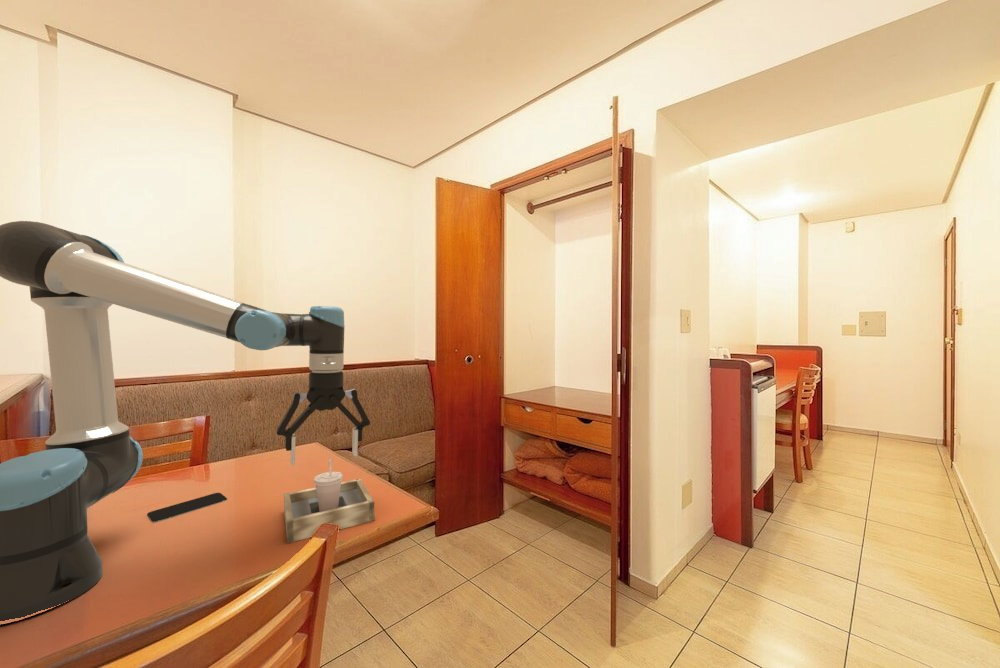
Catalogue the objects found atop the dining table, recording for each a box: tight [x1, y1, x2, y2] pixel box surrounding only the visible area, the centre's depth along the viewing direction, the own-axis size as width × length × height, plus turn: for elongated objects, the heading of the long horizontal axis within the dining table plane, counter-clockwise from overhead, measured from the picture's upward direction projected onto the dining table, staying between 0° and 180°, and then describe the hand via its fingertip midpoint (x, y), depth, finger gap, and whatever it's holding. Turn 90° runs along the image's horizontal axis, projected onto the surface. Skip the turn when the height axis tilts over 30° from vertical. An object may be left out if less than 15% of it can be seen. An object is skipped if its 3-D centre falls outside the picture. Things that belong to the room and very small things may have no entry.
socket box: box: [283, 478, 375, 544], centre depth 92 cm, size 18×16×4 cm
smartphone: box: [146, 492, 228, 524], centre depth 97 cm, size 7×1×15 cm
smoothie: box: [313, 458, 344, 512], centre depth 92 cm, size 6×6×14 cm
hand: (325, 459), depth 91 cm, fingers open, 13 cm apart
